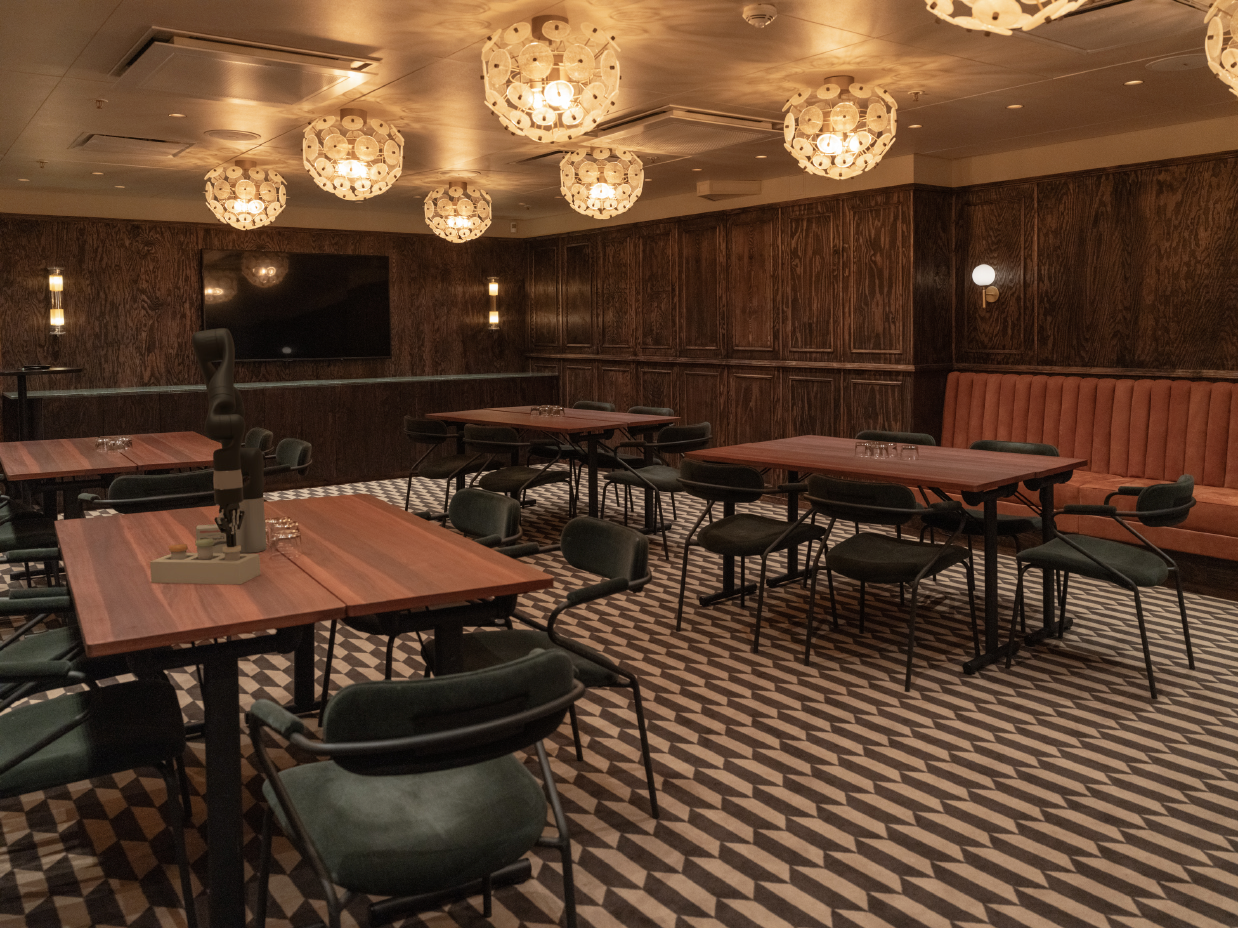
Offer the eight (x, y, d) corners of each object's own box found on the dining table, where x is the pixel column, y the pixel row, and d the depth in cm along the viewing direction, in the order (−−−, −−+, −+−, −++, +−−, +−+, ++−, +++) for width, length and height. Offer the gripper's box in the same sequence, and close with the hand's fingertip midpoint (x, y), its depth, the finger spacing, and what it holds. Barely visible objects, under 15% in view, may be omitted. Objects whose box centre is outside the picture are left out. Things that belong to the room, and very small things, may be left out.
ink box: (197, 567, 293) (195, 528, 292) (197, 563, 298) (195, 525, 296) (228, 564, 297) (226, 525, 295) (227, 561, 301) (225, 523, 300)
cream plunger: (229, 572, 280) (227, 544, 279) (245, 573, 280) (244, 544, 279) (220, 576, 275) (219, 548, 274) (237, 577, 275) (235, 548, 274)
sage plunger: (202, 566, 281) (201, 538, 280) (218, 567, 280) (217, 538, 279) (193, 570, 276) (191, 542, 275) (209, 571, 276) (208, 542, 275)
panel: (175, 572, 286) (174, 552, 285) (260, 574, 283) (259, 554, 282) (151, 582, 274) (150, 561, 273) (239, 584, 271) (238, 563, 270)
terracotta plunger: (176, 571, 282) (174, 543, 281) (192, 572, 281) (190, 544, 280) (167, 575, 277) (165, 547, 276) (183, 576, 277) (181, 547, 276)
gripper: (227, 482, 281) (230, 541, 283) (203, 489, 268) (206, 551, 270) (252, 482, 281) (255, 542, 283) (229, 489, 268) (232, 551, 270)
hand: (231, 546), depth 277 cm, fingers closed
